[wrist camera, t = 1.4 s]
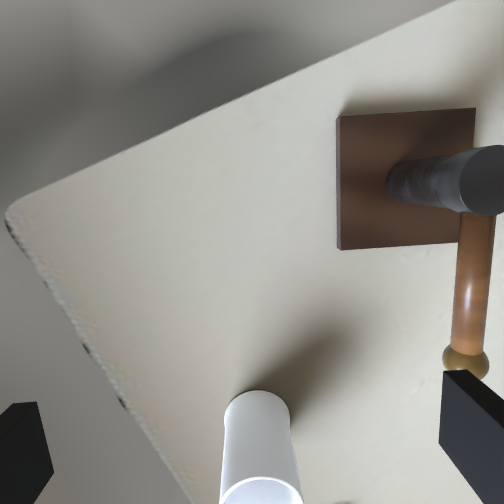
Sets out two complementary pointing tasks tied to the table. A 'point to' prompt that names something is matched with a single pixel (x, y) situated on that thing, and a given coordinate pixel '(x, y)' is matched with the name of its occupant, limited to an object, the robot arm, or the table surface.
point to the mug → (259, 452)
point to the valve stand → (397, 177)
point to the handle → (472, 249)
